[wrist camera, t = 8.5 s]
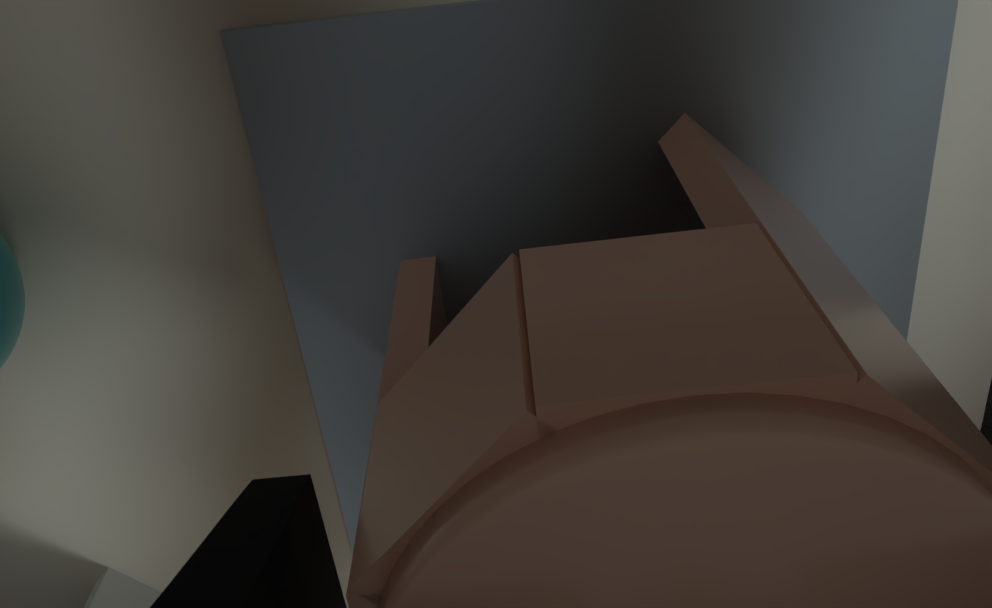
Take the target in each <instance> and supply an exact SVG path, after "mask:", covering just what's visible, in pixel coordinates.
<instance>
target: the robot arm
mask: <svg viewBox="0 0 992 608" xmlns="http://www.w3.org/2000/svg"><path fill="white" fill-rule="evenodd" d="M150 608H347V607H346V603H345V600H344V596H343V592H342V589H341V585H340V581H339V578H338V574H337V570H336V567H335V563H334V559H333V555H332V552H331V548H330V544H329V541H328V537H327V533H326V530H325V526H324V522H323V519H322V515H321V511H320V508H319V504H318V500H317V496H316V493H315V489H314V485H313V482H312V478H311V474H306V475H296V476H285V477H274V478H264V479H253V480H252V481H251V482H250V483H249V484H248V485H247V487H246V488H245V489H244V490H243V491H242V493H241V494H240V495H239V496H238V498H237V499H236V500H235V501H234V502H233V504H232V505H231V506H230V507H229V509H228V510H227V511H226V512H225V514H224V515H223V516H222V518H221V519H220V520H219V521H218V523H217V524H216V525H215V526H214V528H213V529H212V530H211V532H210V533H209V534H208V535H207V537H206V538H205V539H204V540H203V542H202V543H201V544H200V546H199V547H198V548H197V549H196V551H195V552H194V553H193V554H192V556H191V557H190V558H189V559H188V561H187V562H186V563H185V564H184V566H183V567H182V568H181V569H180V571H179V572H178V573H177V575H176V576H175V577H174V578H173V580H172V581H171V582H170V583H169V585H168V586H167V587H166V588H165V590H164V591H163V592H162V593H161V594H160V596H159V597H158V598H157V599H156V600H155V602H154V603H153V604H152V605H151V606H150Z"/></svg>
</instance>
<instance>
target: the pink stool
mask: <svg viewBox="0 0 992 608" xmlns="http://www.w3.org/2000/svg"><path fill="white" fill-rule="evenodd" d="M658 143H659V145H660V146H661V148H662V150H663V152H664V154H665V155H666V157H667V159H668V161H669V163H670V164H671V166H672V168H673V170H674V172H675V173H676V175H677V177H678V179H679V181H680V182H681V184H682V186H683V188H684V190H685V191H686V193H687V195H688V197H689V199H690V200H691V202H692V204H693V206H694V208H695V209H696V211H697V213H698V215H699V217H700V219H701V220H702V222H703V224H704V226H705V228H706V229H698V230H689V231H680V232H671V233H662V234H653V235H644V236H635V237H626V238H617V239H609V240H600V241H591V242H582V243H573V244H564V245H555V246H546V247H537V248H528V249H519V253H520V258H519V257H517V256H516V255H515V254H513V253H512V254H511V255H510V256H509V257H508V258H507V260H506V261H505V262H504V263H503V264H502V265H501V266H500V267H499V269H498V270H497V271H496V272H495V273H494V274H493V275H492V276H491V278H490V279H489V280H488V281H487V282H486V283H485V284H484V285H483V287H482V288H481V289H480V290H479V291H478V292H477V293H476V294H475V296H474V297H473V298H472V299H471V300H470V301H469V302H468V303H467V305H466V306H465V307H464V308H463V309H462V310H461V311H460V312H459V314H458V315H457V316H456V317H455V318H454V319H453V320H452V321H451V323H450V324H449V325H448V326H447V321H446V315H445V309H444V303H443V297H442V290H441V284H440V278H439V272H438V266H437V260H436V256H434V257H425V258H416V259H407V260H400V267H399V273H398V279H397V285H396V291H395V297H394V303H393V310H392V316H391V322H390V328H389V334H388V340H387V347H386V353H385V359H384V365H383V371H382V377H381V383H380V390H379V396H378V402H377V408H376V414H375V420H374V427H373V433H372V439H371V445H370V451H369V457H368V463H367V470H366V476H365V482H364V488H363V494H362V500H361V507H360V513H359V519H358V525H357V531H356V537H355V543H354V550H353V556H352V562H351V568H350V574H349V580H348V587H347V593H346V599H347V602H348V606H349V608H992V445H991V444H990V443H989V441H988V440H987V439H986V438H985V437H984V435H983V434H982V433H981V432H980V430H979V429H978V428H977V427H976V426H975V424H974V423H973V422H972V421H971V419H970V418H969V417H968V416H967V414H966V413H965V412H964V411H963V410H962V408H961V407H960V406H959V405H958V403H957V402H956V401H955V400H954V398H953V397H952V396H951V395H950V394H949V392H948V391H947V390H946V389H945V387H944V386H943V385H942V384H941V383H940V381H939V380H938V379H937V378H936V376H935V375H934V374H933V373H932V371H931V370H930V369H929V368H928V367H927V365H926V364H925V363H924V362H923V360H922V359H921V358H920V357H919V355H918V354H917V353H916V352H915V351H914V349H913V348H912V347H911V346H910V344H909V343H908V342H907V341H906V340H905V338H904V337H903V336H902V335H901V333H900V332H899V331H898V330H897V328H896V327H895V326H894V325H893V324H892V322H891V321H890V320H889V319H888V317H887V316H886V315H885V314H884V313H883V311H882V310H881V309H880V308H879V306H878V305H877V304H876V303H875V301H874V300H873V299H872V298H871V297H870V295H869V294H868V293H867V292H866V290H865V289H864V288H863V287H862V285H861V284H860V283H859V282H858V281H857V279H856V278H855V277H854V276H853V274H852V273H851V272H850V271H849V270H848V268H847V267H846V266H845V265H844V263H843V262H842V261H841V260H840V258H839V257H838V256H837V255H836V254H835V252H834V251H833V250H832V249H831V247H830V246H829V245H828V244H827V243H826V241H825V240H824V239H823V238H822V236H821V235H820V234H819V233H818V231H817V230H816V229H815V228H814V227H813V225H812V224H811V223H810V222H809V220H808V219H807V218H806V217H805V215H804V214H803V213H802V212H801V211H800V210H799V209H798V208H797V207H796V206H794V205H793V204H792V203H791V202H790V201H788V200H787V199H786V198H785V197H784V196H783V195H781V194H780V193H779V192H778V191H777V190H775V189H774V188H773V187H772V186H771V185H770V184H768V183H767V182H766V181H765V180H764V179H763V178H761V177H760V176H759V175H758V174H757V173H755V172H754V171H753V170H752V169H751V168H750V167H748V166H747V165H746V164H745V163H744V162H742V161H741V160H740V159H739V158H738V157H737V156H735V155H734V154H733V153H732V152H731V151H730V150H728V149H727V148H726V147H725V146H724V145H722V144H721V143H720V142H719V141H718V140H717V139H715V138H714V137H713V136H712V135H711V134H710V133H708V132H707V131H706V130H705V129H704V128H702V127H701V126H700V125H699V124H698V123H697V122H695V121H694V120H693V119H692V118H691V117H689V116H688V115H687V114H686V113H684V114H683V115H682V116H681V117H680V118H679V120H678V121H677V122H676V123H675V124H674V125H673V126H672V127H671V128H670V129H669V130H668V132H667V133H666V134H665V135H664V136H663V137H662V138H661V139H660V140H659V141H658Z"/></svg>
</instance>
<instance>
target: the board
mask: <svg viewBox="0 0 992 608" xmlns="http://www.w3.org/2000/svg"><path fill="white" fill-rule="evenodd" d="M684 113H686V114H687V115H688V116H689V117H691V118H692V119H693V120H694V121H695V122H697V123H698V124H699V125H700V126H701V127H702V128H704V129H705V130H706V131H707V132H708V133H710V134H711V135H712V136H713V137H714V138H715V139H717V140H718V141H719V142H720V143H721V144H722V145H724V146H725V147H726V148H727V149H728V150H730V151H731V152H732V153H733V154H734V155H735V156H737V157H738V158H739V159H740V160H741V161H742V162H744V163H745V164H746V165H747V166H748V167H750V168H751V169H752V170H753V171H754V172H755V173H757V174H758V175H759V176H760V177H761V178H763V179H764V180H765V181H766V182H767V183H768V184H770V185H771V186H772V187H773V188H774V189H775V190H777V191H778V192H779V193H780V194H781V195H783V196H784V197H785V198H786V199H787V200H788V201H790V202H791V203H792V204H793V205H794V206H796V207H797V208H798V209H799V210H800V211H801V212H802V213H803V214H804V215H805V217H806V218H807V219H808V220H809V222H810V223H811V224H812V225H813V227H814V228H815V229H816V230H817V231H818V233H819V234H820V235H821V236H822V238H823V239H824V240H825V241H826V243H827V244H828V245H829V246H830V247H831V249H832V250H833V251H834V252H835V254H836V255H837V256H838V257H839V258H840V260H841V261H842V262H843V263H844V265H845V266H846V267H847V268H848V270H849V271H850V272H851V273H852V274H853V276H854V277H855V278H856V279H857V281H858V282H859V283H860V284H861V285H862V287H863V288H864V289H865V290H866V292H867V293H868V294H869V295H870V297H871V298H872V299H873V300H874V301H875V303H876V304H877V305H878V306H879V308H880V309H881V310H882V311H883V313H884V314H885V315H886V316H887V317H888V319H889V320H890V321H891V322H892V324H893V325H894V326H895V327H896V328H897V330H898V331H899V332H900V333H901V335H902V336H903V337H904V338H905V340H906V341H907V342H908V343H909V344H910V346H911V347H912V348H913V349H914V351H915V352H916V353H917V354H918V355H919V357H920V358H921V359H922V360H923V362H924V363H925V364H926V365H927V367H928V368H929V369H930V370H931V371H932V373H933V374H934V375H935V376H936V378H937V379H938V380H939V381H940V383H941V384H942V385H943V386H944V387H945V389H946V390H947V391H948V392H949V394H950V395H951V396H952V397H953V398H954V400H955V401H956V402H957V403H958V405H959V406H960V407H961V408H962V410H963V411H964V412H965V413H966V414H967V416H968V417H969V418H970V419H971V421H972V422H973V423H974V424H975V426H976V427H977V428H978V429H979V430H981V426H982V421H983V416H984V412H985V407H986V402H987V398H988V393H989V388H990V383H991V379H992V0H0V235H1V236H2V237H3V238H4V240H5V241H6V243H7V244H8V246H9V247H10V249H11V251H12V253H13V255H14V257H15V259H16V261H17V263H18V266H19V269H20V271H21V274H22V279H23V284H24V291H25V311H24V318H23V325H22V328H21V331H20V335H19V337H18V340H17V342H16V345H15V346H14V348H13V350H12V352H11V354H10V356H9V357H8V359H7V360H6V362H5V363H4V364H3V366H2V367H1V368H0V608H84V606H85V604H86V602H87V600H88V598H89V596H90V594H91V592H92V590H93V588H94V586H95V584H96V582H97V581H98V580H99V579H100V577H101V576H102V575H103V574H104V573H105V571H106V570H107V569H108V568H109V567H110V568H112V569H114V570H116V571H118V572H120V573H122V574H124V575H126V576H128V577H131V578H133V579H135V580H137V581H139V582H141V583H143V584H145V585H147V586H149V587H151V588H154V589H156V590H158V591H160V592H163V591H164V590H165V588H166V587H167V586H168V585H169V583H170V582H171V581H172V580H173V578H174V577H175V576H176V575H177V573H178V572H179V571H180V569H181V568H182V567H183V566H184V564H185V563H186V562H187V561H188V559H189V558H190V557H191V556H192V554H193V553H194V552H195V551H196V549H197V548H198V547H199V546H200V544H201V543H202V542H203V540H204V539H205V538H206V537H207V535H208V534H209V533H210V532H211V530H212V529H213V528H214V526H215V525H216V524H217V523H218V521H219V520H220V519H221V518H222V516H223V515H224V514H225V512H226V511H227V510H228V509H229V507H230V506H231V505H232V504H233V502H234V501H235V500H236V499H237V498H238V496H239V495H240V494H241V493H242V491H243V490H244V489H245V488H246V487H247V485H248V484H249V483H250V482H251V481H252V480H253V479H264V478H274V477H285V476H296V475H306V474H311V478H312V482H313V485H314V489H315V493H316V496H317V500H318V504H319V508H320V511H321V515H322V519H323V522H324V526H325V530H326V533H327V537H328V541H329V544H330V548H331V552H332V555H333V559H334V563H335V567H336V570H337V574H338V578H339V581H340V585H341V589H342V592H343V596H344V600H345V603H346V607H347V608H349V606H348V602H347V599H346V593H347V587H348V580H349V574H350V568H351V562H352V556H353V550H354V543H355V537H356V531H357V525H358V519H359V513H360V507H361V500H362V494H363V488H364V482H365V476H366V470H367V463H368V457H369V451H370V445H371V439H372V433H373V427H374V420H375V414H376V408H377V402H378V396H379V390H380V383H381V377H382V371H383V365H384V359H385V353H386V347H387V340H388V334H389V328H390V322H391V316H392V310H393V303H394V297H395V291H396V285H397V279H398V273H399V267H400V260H407V259H416V258H425V257H434V256H436V260H437V266H438V272H439V278H440V284H441V290H442V297H443V303H444V309H445V315H446V321H447V326H448V325H449V324H450V323H451V321H452V320H453V319H454V318H455V317H456V316H457V315H458V314H459V312H460V311H461V310H462V309H463V308H464V307H465V306H466V305H467V303H468V302H469V301H470V300H471V299H472V298H473V297H474V296H475V294H476V293H477V292H478V291H479V290H480V289H481V288H482V287H483V285H484V284H485V283H486V282H487V281H488V280H489V279H490V278H491V276H492V275H493V274H494V273H495V272H496V271H497V270H498V269H499V267H500V266H501V265H502V264H503V263H504V262H505V261H506V260H507V258H508V257H509V256H510V255H511V254H512V253H513V254H515V255H516V256H517V257H519V258H520V253H519V249H528V248H537V247H546V246H555V245H564V244H573V243H582V242H591V241H600V240H609V239H617V238H626V237H635V236H644V235H653V234H662V233H671V232H680V231H689V230H698V229H706V228H705V226H704V224H703V222H702V220H701V219H700V217H699V215H698V213H697V211H696V209H695V208H694V206H693V204H692V202H691V200H690V199H689V197H688V195H687V193H686V191H685V190H684V188H683V186H682V184H681V182H680V181H679V179H678V177H677V175H676V173H675V172H674V170H673V168H672V166H671V164H670V163H669V161H668V159H667V157H666V155H665V154H664V152H663V150H662V148H661V146H660V145H659V143H658V141H659V140H660V139H661V138H662V137H663V136H664V135H665V134H666V133H667V132H668V130H669V129H670V128H671V127H672V126H673V125H674V124H675V123H676V122H677V121H678V120H679V118H680V117H681V116H682V115H683V114H684Z"/></svg>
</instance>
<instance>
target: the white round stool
mask: <svg viewBox="0 0 992 608" xmlns="http://www.w3.org/2000/svg"><path fill="white" fill-rule="evenodd" d="M161 593H162V592H160V591H158V590H156V589H154V588H151V587H149V586H147V585H145V584H143V583H141V582H139V581H137V580H135V579H133V578H131V577H128V576H126V575H124V574H122V573H120V572H118V571H116V570H114V569H112V568H110V567H109V568H108V569H107V570H106V571H105V573H104V574H103V575H102V576H101V577H100V579H99V580H98V581H97V582H96V584H95V586H94V588H93V590H92V592H91V594H90V596H89V598H88V600H87V602H86V604H85V606H84V608H150V606H151V605H152V604H153V603H154V602H155V600H156V599H157V598H158V597H159V596H160V594H161Z"/></svg>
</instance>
